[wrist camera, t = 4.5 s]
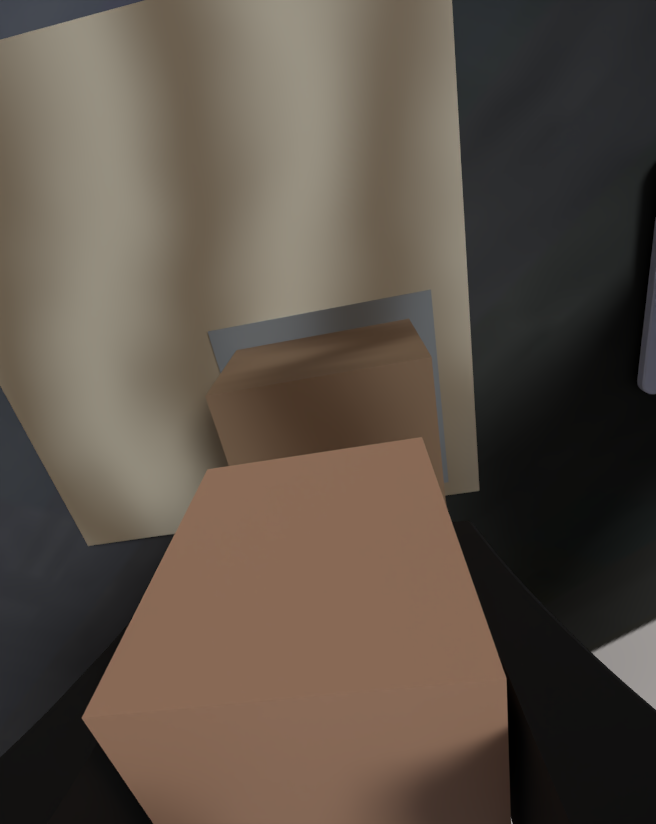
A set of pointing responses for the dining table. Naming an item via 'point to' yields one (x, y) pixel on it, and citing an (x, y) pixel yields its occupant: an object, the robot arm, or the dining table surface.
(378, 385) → the walnut block
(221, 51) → the board
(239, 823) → the terracotta block
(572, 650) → the robot arm
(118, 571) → the dining table surface
